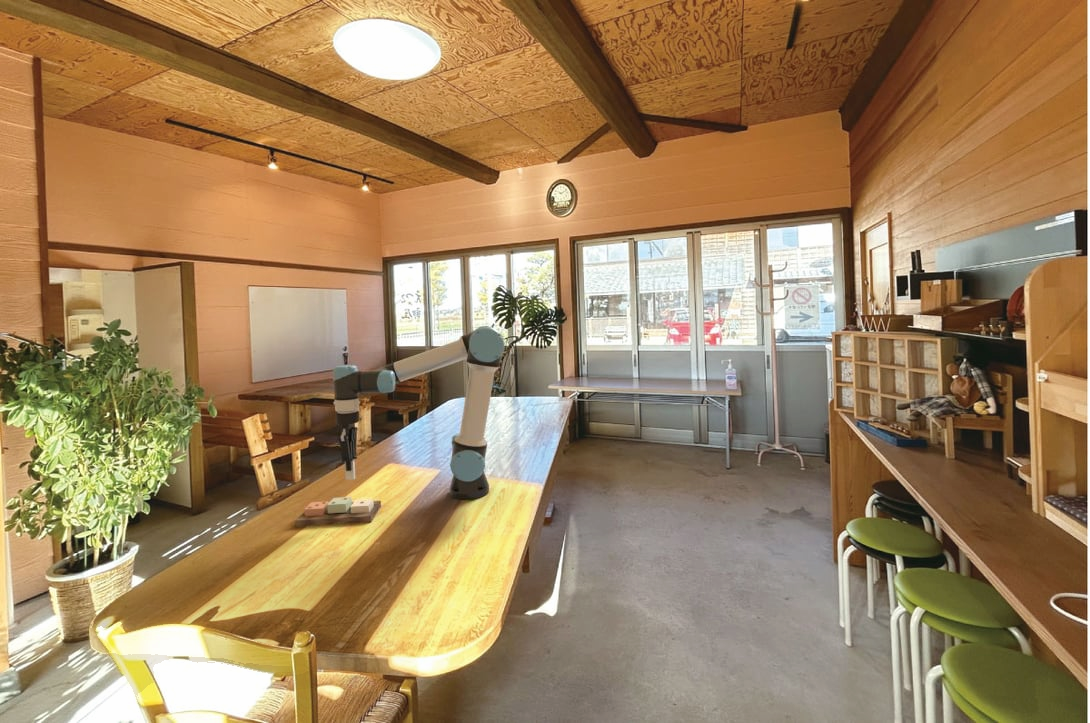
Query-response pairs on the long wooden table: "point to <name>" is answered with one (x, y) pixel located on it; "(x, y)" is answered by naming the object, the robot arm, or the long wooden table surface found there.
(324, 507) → the button three terracotta
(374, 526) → the long wooden table surface
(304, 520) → the brown wooden tray
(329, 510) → the button two sage
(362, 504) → the button one cream
